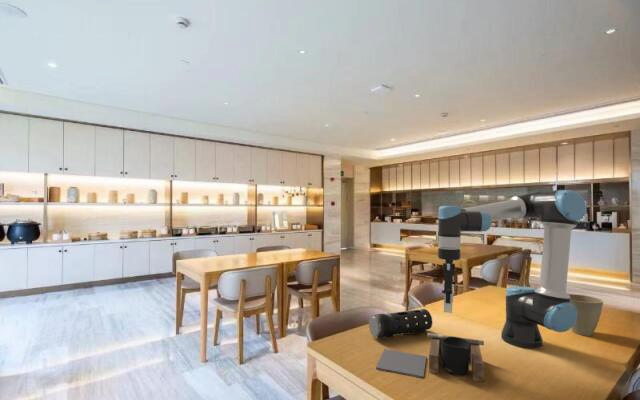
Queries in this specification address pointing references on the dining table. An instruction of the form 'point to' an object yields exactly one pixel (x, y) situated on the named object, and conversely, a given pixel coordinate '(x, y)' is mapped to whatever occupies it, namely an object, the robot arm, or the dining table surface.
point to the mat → (402, 363)
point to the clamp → (473, 355)
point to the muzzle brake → (400, 323)
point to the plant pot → (586, 313)
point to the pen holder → (455, 356)
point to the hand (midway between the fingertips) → (448, 306)
